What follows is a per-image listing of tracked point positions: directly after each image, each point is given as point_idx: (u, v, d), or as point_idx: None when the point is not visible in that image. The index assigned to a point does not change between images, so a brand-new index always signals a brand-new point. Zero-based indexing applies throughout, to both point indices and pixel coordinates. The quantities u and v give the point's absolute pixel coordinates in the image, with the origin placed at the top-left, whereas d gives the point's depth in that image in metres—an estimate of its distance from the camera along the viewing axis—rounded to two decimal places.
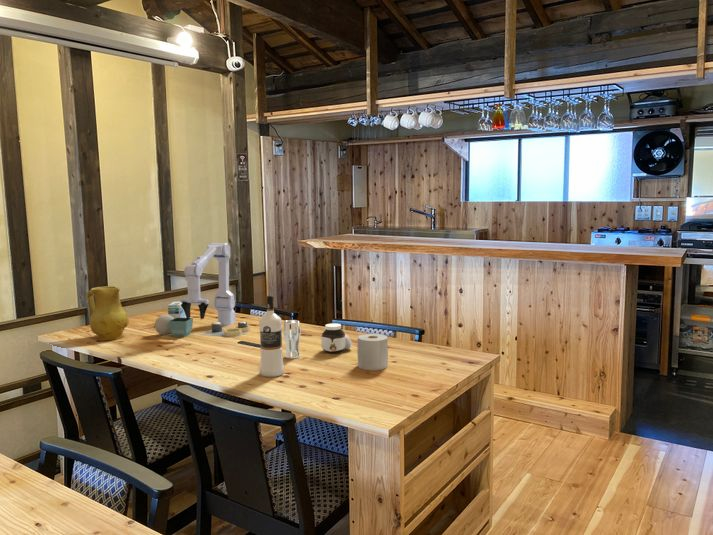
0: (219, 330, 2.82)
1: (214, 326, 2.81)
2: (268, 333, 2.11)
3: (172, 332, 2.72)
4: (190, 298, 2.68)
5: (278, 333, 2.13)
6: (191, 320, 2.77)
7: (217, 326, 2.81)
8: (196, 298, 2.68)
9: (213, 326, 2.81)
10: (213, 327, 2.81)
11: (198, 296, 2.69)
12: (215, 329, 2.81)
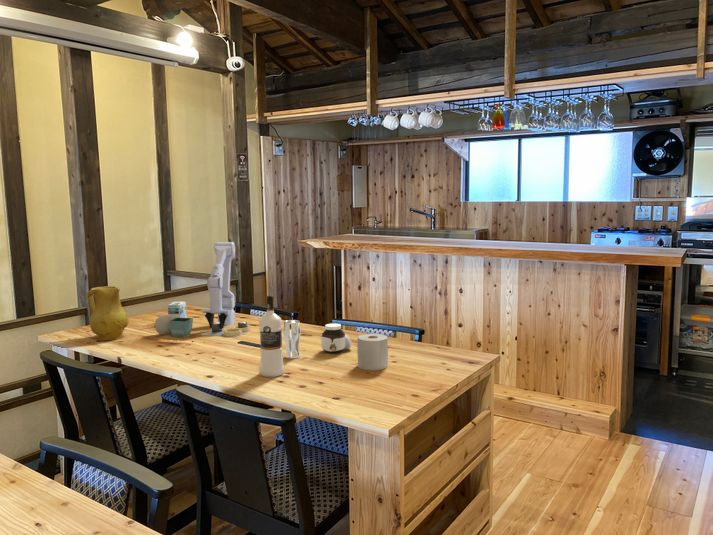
0: (219, 330, 2.82)
1: (214, 326, 2.81)
2: (268, 333, 2.11)
3: (172, 332, 2.72)
4: (212, 309, 2.80)
5: (278, 333, 2.13)
6: (191, 320, 2.77)
7: (217, 326, 2.81)
8: (218, 309, 2.80)
9: (213, 326, 2.81)
10: (213, 327, 2.81)
11: (220, 307, 2.81)
12: (215, 329, 2.81)
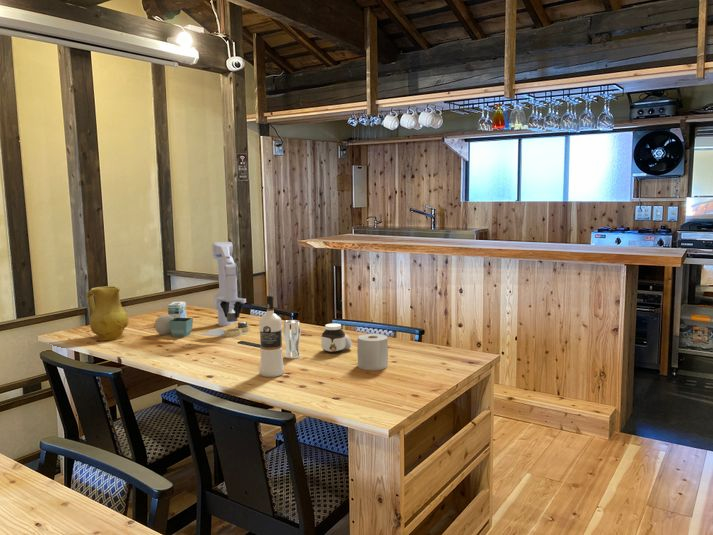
0: (235, 319, 2.74)
1: (229, 315, 2.73)
2: (268, 333, 2.11)
3: (172, 332, 2.72)
4: (227, 297, 2.72)
5: (278, 333, 2.13)
6: (191, 320, 2.77)
7: (233, 315, 2.73)
8: (233, 297, 2.72)
9: (228, 315, 2.73)
10: (228, 316, 2.73)
11: (235, 295, 2.73)
12: (230, 318, 2.73)
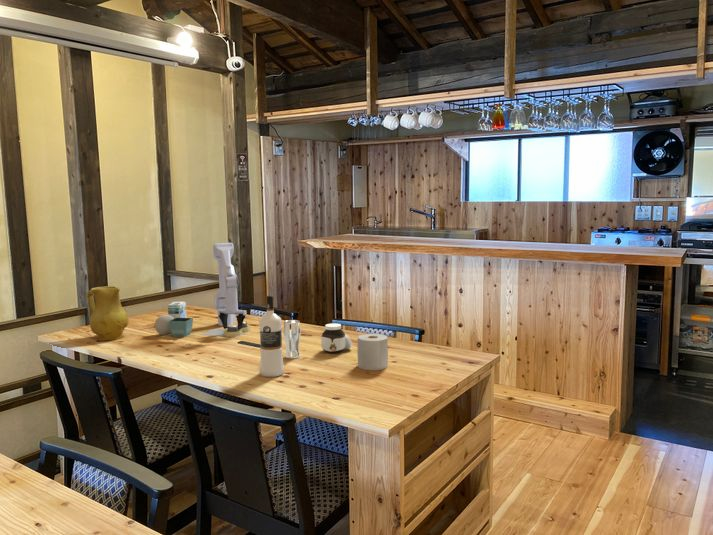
0: None
1: (230, 329, 2.74)
2: (268, 333, 2.11)
3: (172, 332, 2.72)
4: (228, 309, 2.72)
5: (278, 333, 2.13)
6: (191, 320, 2.77)
7: (233, 329, 2.74)
8: (234, 309, 2.73)
9: (229, 329, 2.74)
10: (229, 330, 2.74)
11: (236, 307, 2.73)
12: None
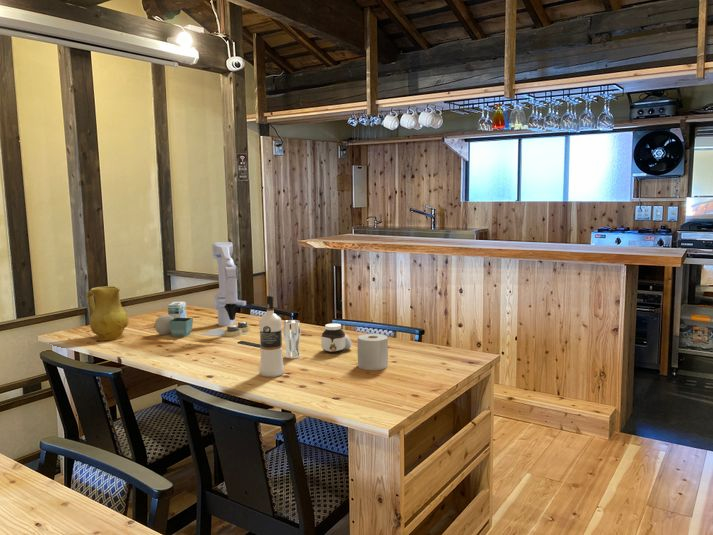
0: None
1: (230, 329, 2.74)
2: (268, 333, 2.11)
3: (172, 332, 2.72)
4: (228, 300, 2.72)
5: (278, 333, 2.13)
6: (191, 320, 2.77)
7: (233, 329, 2.74)
8: (233, 300, 2.72)
9: (229, 329, 2.74)
10: (229, 330, 2.74)
11: (235, 298, 2.73)
12: None
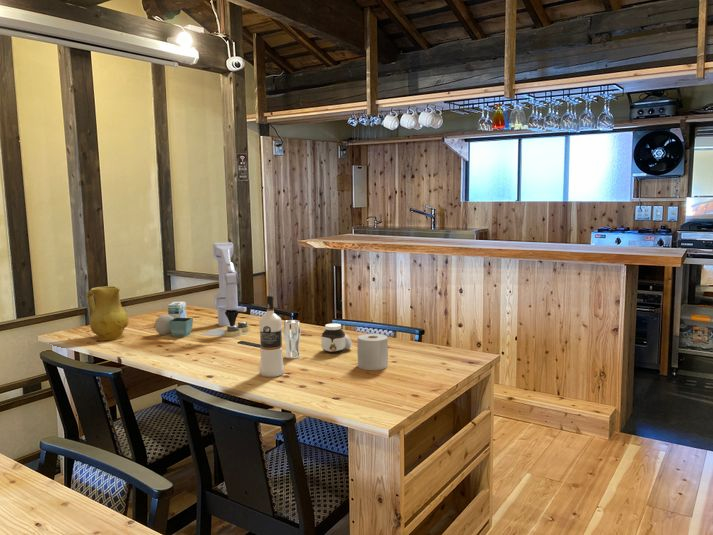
0: None
1: (230, 329, 2.74)
2: (268, 333, 2.11)
3: (172, 332, 2.72)
4: (228, 306, 2.72)
5: (278, 333, 2.13)
6: (191, 320, 2.77)
7: (234, 329, 2.74)
8: (234, 306, 2.73)
9: (229, 329, 2.74)
10: (229, 330, 2.74)
11: (235, 304, 2.73)
12: None
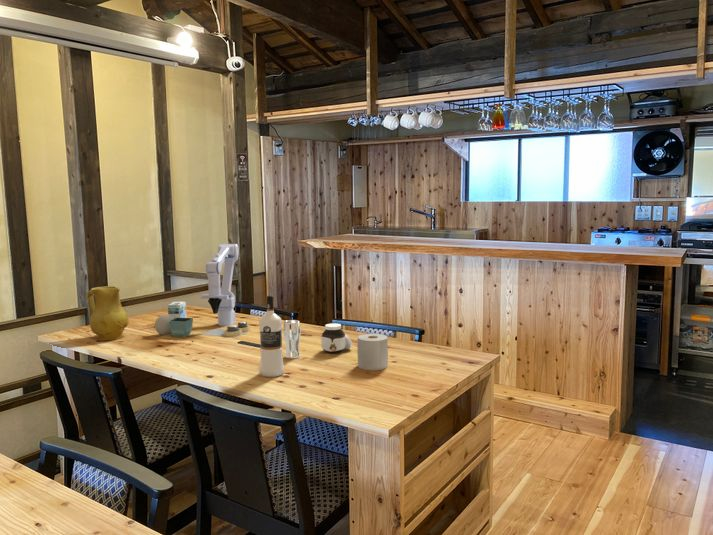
0: None
1: (231, 329, 2.74)
2: (268, 333, 2.11)
3: (172, 332, 2.72)
4: (211, 294, 2.80)
5: (278, 333, 2.13)
6: (191, 320, 2.77)
7: (234, 328, 2.74)
8: (216, 294, 2.80)
9: (229, 329, 2.74)
10: (229, 330, 2.74)
11: (218, 292, 2.81)
12: None
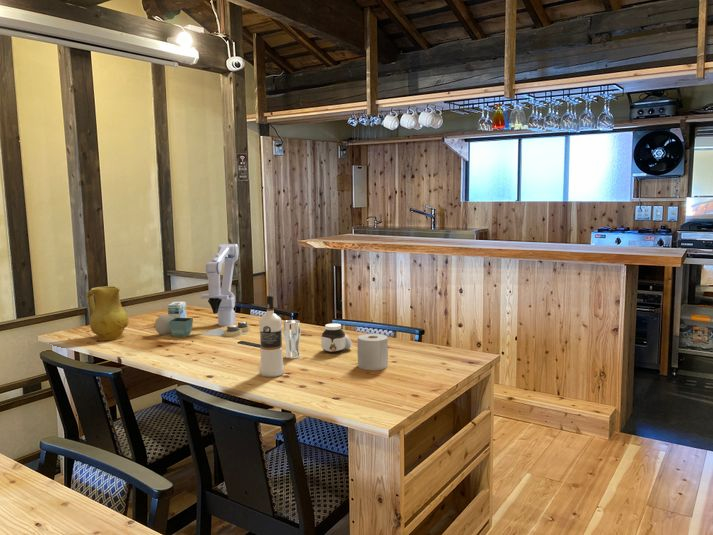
0: None
1: (231, 329, 2.74)
2: (268, 333, 2.11)
3: (172, 332, 2.72)
4: (211, 294, 2.80)
5: (278, 333, 2.13)
6: (191, 320, 2.77)
7: (234, 329, 2.74)
8: (216, 294, 2.80)
9: (230, 329, 2.74)
10: (230, 330, 2.74)
11: (218, 292, 2.81)
12: None
